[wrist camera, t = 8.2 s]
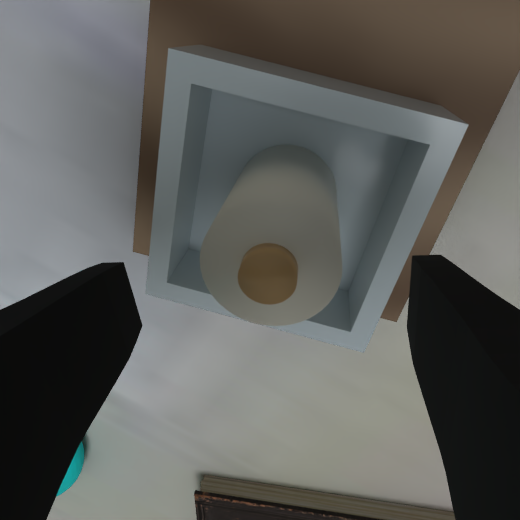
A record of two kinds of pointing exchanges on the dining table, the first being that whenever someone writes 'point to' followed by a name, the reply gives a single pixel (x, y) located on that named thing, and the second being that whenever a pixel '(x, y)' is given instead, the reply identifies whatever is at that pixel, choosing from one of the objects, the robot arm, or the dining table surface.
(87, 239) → the dining table surface
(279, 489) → the hardcover book
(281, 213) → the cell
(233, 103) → the pale grey open tray
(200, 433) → the dining table surface
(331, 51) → the brown rectangular board
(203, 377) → the dining table surface
